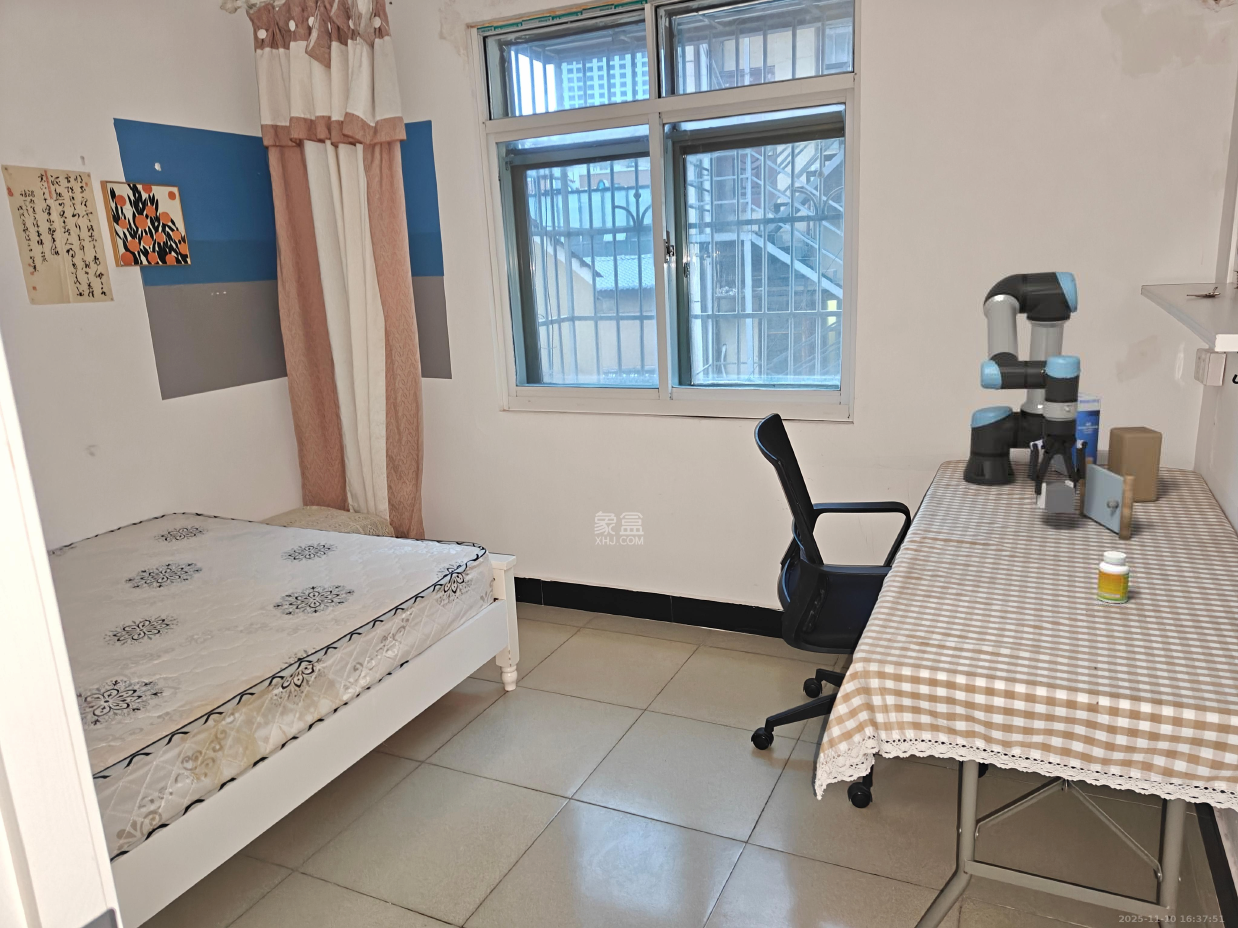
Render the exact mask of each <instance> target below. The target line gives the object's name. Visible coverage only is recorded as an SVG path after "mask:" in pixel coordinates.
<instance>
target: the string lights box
mask: <svg viewBox="0 0 1238 928" xmlns="http://www.w3.org/2000/svg"><path fill="white" fill-rule="evenodd" d="M1101 402H1102V396H1100V395H1094V394H1092V393H1091V394H1090V393H1086V392H1081V391H1078V407H1077V416H1076V417H1075V418H1074V419H1076V420H1077V424H1076V433H1075V436H1076V438H1077V440H1084V441H1086V442H1088V445H1087V448H1086V450H1085V457H1093V464H1094V465H1096V466H1097V463H1098V462H1097V461H1098V451H1099V450H1098V447H1099V431H1100V418H1101V417H1100V416H1101V404H1102V403H1101ZM1071 452H1072V459H1073V463H1074V467H1075V470H1076V447H1075V445H1074V446H1073V447H1072V448H1071ZM1053 469H1054V470H1056V471H1058V472H1057V473H1059V472H1060V473H1059V474H1061V473H1062V475H1064V476H1066V475H1067V476H1066V477H1068V474H1067V470H1066V467H1065V463H1064V459H1063V456H1062V455H1061V454H1058V455H1054V458H1053V459H1052V470H1053ZM1054 470H1053V471H1054ZM1056 471H1055V472H1056Z"/></svg>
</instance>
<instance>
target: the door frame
mask: <svg viewBox="0 0 1238 928" xmlns="http://www.w3.org/2000/svg"><path fill="white" fill-rule="evenodd" d="M1087 464H1093V457H1085V479H1081V480H1080V491H1079V503H1078V516H1080V517H1084V518H1085V517H1086V518H1087V517H1088V516H1087V515H1086V514H1084V502H1085V488H1086V474H1087ZM1134 488H1135V476H1134V475H1124V481H1123V493H1122V505H1121V517H1120V529H1119V532H1118V539H1119V540H1121V541H1130V540H1131V532H1132V524H1133V523H1132V521H1133V509H1134V502H1133V500H1134Z"/></svg>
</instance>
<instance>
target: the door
mask: <svg viewBox="0 0 1238 928" xmlns="http://www.w3.org/2000/svg"><path fill="white" fill-rule="evenodd" d="M1123 481H1124V478H1123V477H1121V476H1119V475H1116V474H1114V473H1112V472H1110V471H1107V469H1105V468H1103V467H1100V466H1098V465H1097V464H1096V465H1094V464H1087V474H1086V488H1085V502H1084V514H1086V515H1087V516H1086V517H1089V518H1091V519H1093V520H1095V521H1096V522H1098V523H1099V524H1102V525H1103V526H1105V527H1107V528H1109V529H1110V530H1112V531H1114V532H1115V533H1119V529H1120V517H1121V505H1122V493H1123Z"/></svg>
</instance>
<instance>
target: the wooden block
mask: <svg viewBox="0 0 1238 928" xmlns="http://www.w3.org/2000/svg"><path fill="white" fill-rule="evenodd" d="M1108 439H1109V440H1108V451H1107V463H1106V464H1107V465H1106V470H1107V471H1110V472H1112V473H1114V474H1116V475H1119V476H1121V477H1123V478H1124V475H1134V476H1135V488H1134V500H1133V503H1142V502H1144V503H1146V502H1156V500H1157V497H1158V496H1157V495H1158V487H1159V477H1160V476H1159V475H1160V464H1161V454H1162V444H1163V443H1162V442H1163V434H1162V432H1160V431H1157V430H1154V429H1152V428H1149V427H1146V426H1123V427H1121V426H1119V427H1118V426H1117V427H1112V428H1110V430H1109V438H1108Z"/></svg>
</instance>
